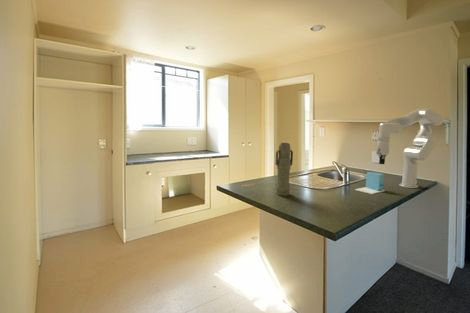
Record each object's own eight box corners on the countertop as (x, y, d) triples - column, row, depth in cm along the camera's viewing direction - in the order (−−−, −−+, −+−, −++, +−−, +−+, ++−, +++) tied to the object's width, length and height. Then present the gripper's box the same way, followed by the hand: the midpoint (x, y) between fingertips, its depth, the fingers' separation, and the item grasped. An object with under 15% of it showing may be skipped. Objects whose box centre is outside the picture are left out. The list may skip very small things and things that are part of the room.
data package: (383, 190, 196) (384, 174, 195) (378, 191, 195) (380, 174, 193) (369, 186, 208) (371, 171, 206) (365, 187, 206) (366, 171, 204)
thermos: (271, 193, 186) (273, 142, 182) (286, 191, 190) (288, 142, 186) (278, 196, 178) (280, 143, 173) (293, 195, 182) (296, 143, 178)
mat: (368, 187, 209) (368, 186, 209) (385, 191, 198) (385, 190, 198) (354, 190, 199) (354, 189, 199) (371, 194, 188) (371, 193, 188)
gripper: (384, 139, 208) (382, 162, 210) (373, 139, 200) (371, 163, 202) (394, 139, 202) (391, 163, 204) (383, 140, 194) (381, 165, 196)
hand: (381, 163), depth 203 cm, fingers closed
